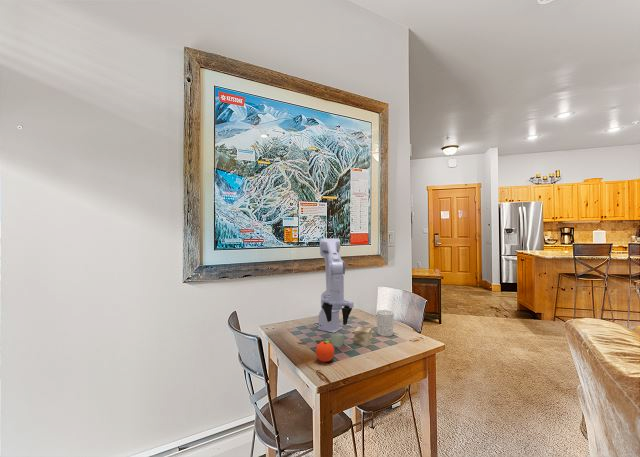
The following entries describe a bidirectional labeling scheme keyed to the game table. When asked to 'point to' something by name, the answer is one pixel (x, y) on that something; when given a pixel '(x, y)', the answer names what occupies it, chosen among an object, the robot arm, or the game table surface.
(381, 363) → the game table surface
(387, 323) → the white cup
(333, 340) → the cube
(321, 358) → the clementine
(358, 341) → the slab lower
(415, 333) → the game table surface
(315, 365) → the game table surface
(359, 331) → the slab upper
